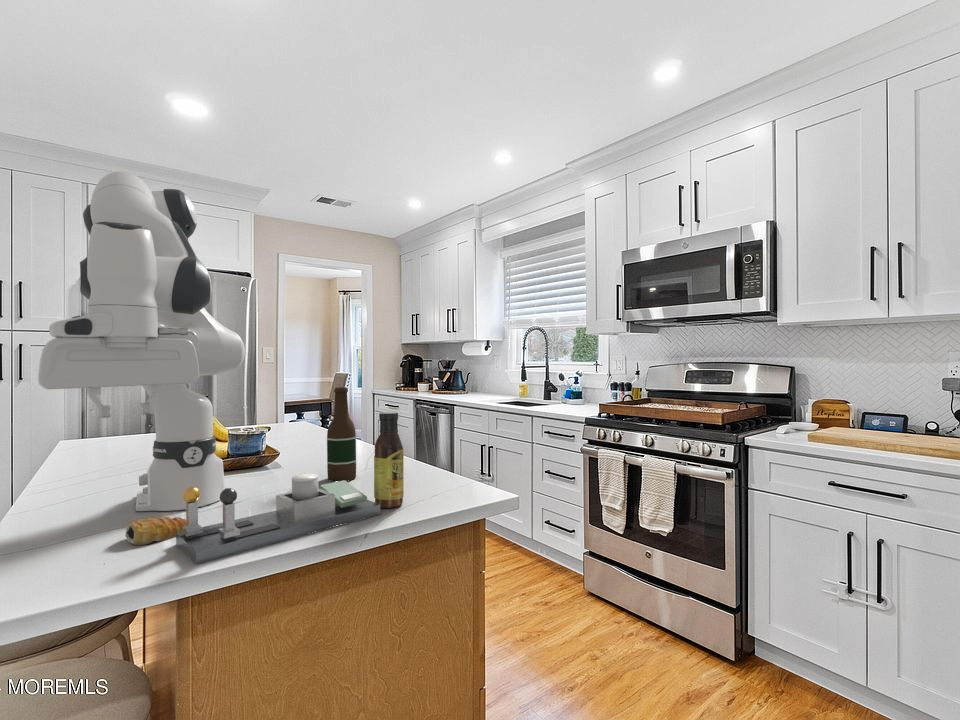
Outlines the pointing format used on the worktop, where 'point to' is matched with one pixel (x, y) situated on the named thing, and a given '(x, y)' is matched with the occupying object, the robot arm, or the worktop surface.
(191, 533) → the slider
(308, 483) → the button
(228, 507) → the slider
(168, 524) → the pastry
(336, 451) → the beer bottle
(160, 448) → the robot arm
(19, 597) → the worktop surface
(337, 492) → the rocker
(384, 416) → the sauce bottle
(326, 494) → the board
